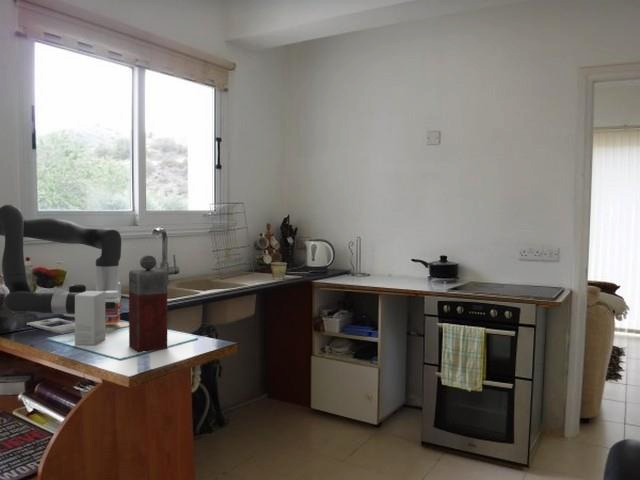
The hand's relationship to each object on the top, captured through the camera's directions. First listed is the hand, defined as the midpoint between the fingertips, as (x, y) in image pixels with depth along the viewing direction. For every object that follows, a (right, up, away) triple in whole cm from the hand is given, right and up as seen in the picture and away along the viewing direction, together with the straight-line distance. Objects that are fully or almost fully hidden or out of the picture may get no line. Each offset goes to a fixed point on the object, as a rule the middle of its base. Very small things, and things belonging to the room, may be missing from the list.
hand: (117, 303), depth 184 cm
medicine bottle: (-23, -7, +18) cm, 30 cm away
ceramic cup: (+47, -2, +139) cm, 147 cm away
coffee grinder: (+19, -10, -26) cm, 33 cm away
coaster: (-2, -8, 0) cm, 8 cm away
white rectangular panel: (-20, -8, -1) cm, 22 cm away
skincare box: (0, -10, -22) cm, 24 cm away
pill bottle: (-3, -7, 0) cm, 8 cm away
